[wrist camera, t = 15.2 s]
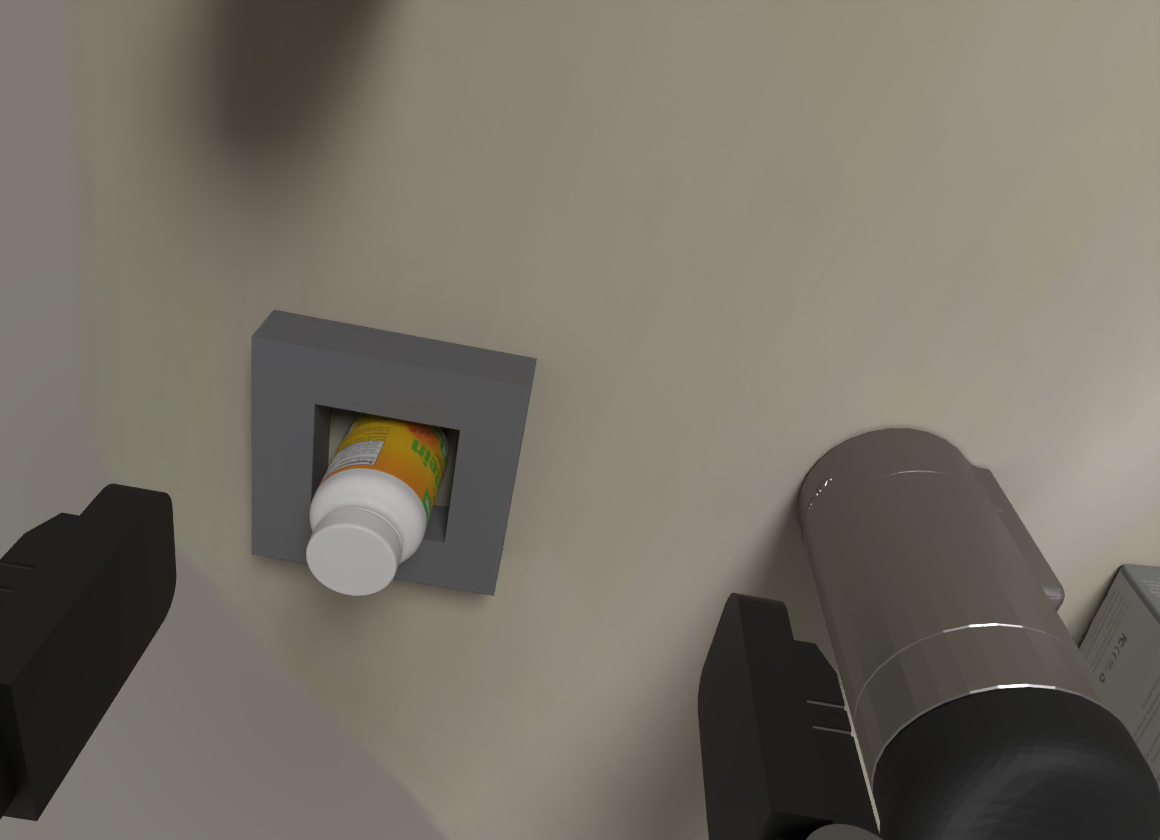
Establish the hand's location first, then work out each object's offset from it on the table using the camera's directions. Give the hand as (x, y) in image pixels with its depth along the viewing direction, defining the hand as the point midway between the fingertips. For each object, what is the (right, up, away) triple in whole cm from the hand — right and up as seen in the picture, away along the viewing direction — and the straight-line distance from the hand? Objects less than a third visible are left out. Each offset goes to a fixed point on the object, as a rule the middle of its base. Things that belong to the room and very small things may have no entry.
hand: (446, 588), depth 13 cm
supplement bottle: (-8, +1, +35) cm, 36 cm away
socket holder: (-8, +1, +35) cm, 36 cm away
